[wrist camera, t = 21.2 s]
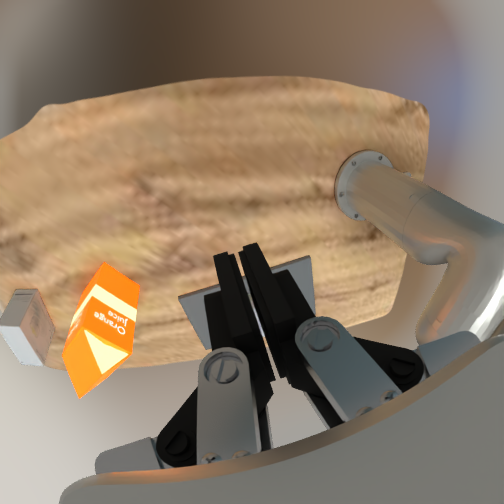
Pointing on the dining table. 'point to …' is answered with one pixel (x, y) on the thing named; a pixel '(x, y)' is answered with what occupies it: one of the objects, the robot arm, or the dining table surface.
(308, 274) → the mat
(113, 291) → the orange juice
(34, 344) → the skincare box
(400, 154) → the dining table surface
